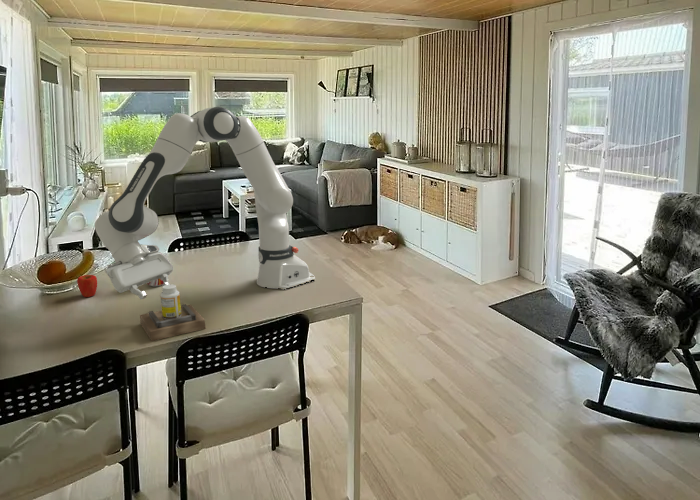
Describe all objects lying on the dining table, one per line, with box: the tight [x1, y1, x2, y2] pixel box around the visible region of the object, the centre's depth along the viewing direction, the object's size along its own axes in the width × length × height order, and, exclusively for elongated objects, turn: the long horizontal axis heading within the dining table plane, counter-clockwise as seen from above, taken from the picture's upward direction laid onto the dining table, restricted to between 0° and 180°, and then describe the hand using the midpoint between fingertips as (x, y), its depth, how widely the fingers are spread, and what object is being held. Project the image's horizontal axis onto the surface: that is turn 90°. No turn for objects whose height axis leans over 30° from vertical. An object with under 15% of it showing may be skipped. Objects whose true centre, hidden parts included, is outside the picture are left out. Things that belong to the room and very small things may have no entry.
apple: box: [76, 274, 98, 298], centre depth 184 cm, size 6×6×8 cm
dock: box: [139, 303, 206, 342], centre depth 162 cm, size 16×14×4 cm
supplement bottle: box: [159, 283, 182, 320], centre depth 160 cm, size 6×6×10 cm
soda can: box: [146, 278, 164, 288], centre depth 195 cm, size 7×7×12 cm
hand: (156, 292), depth 162 cm, fingers open, 8 cm apart
